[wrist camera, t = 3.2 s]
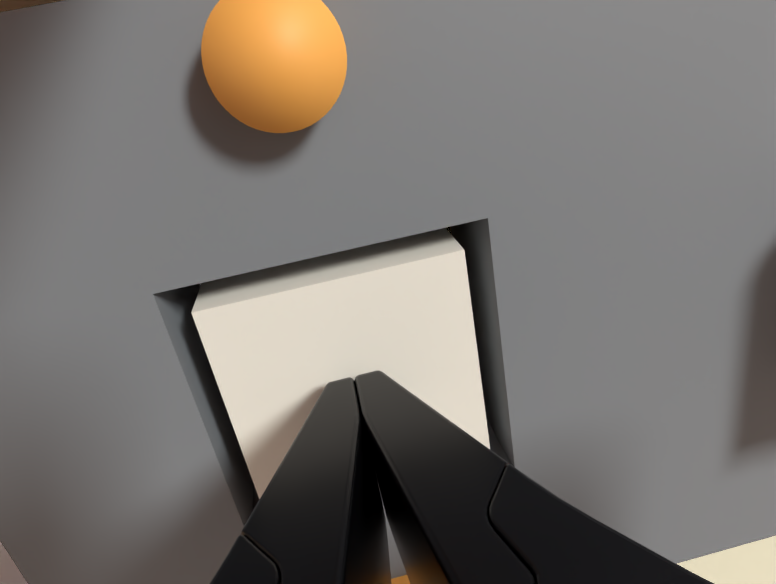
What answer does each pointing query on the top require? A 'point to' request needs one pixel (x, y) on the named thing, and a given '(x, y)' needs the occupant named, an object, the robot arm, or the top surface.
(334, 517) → the robot arm
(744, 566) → the top surface
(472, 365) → the cream square block
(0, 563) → the top surface
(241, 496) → the breaker panel
